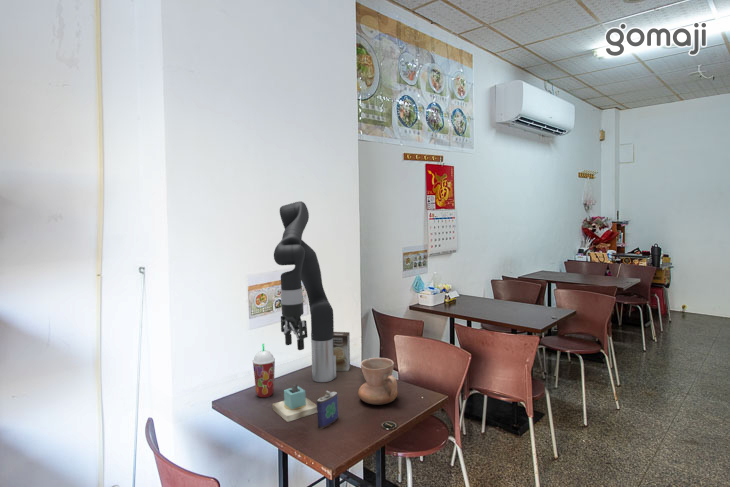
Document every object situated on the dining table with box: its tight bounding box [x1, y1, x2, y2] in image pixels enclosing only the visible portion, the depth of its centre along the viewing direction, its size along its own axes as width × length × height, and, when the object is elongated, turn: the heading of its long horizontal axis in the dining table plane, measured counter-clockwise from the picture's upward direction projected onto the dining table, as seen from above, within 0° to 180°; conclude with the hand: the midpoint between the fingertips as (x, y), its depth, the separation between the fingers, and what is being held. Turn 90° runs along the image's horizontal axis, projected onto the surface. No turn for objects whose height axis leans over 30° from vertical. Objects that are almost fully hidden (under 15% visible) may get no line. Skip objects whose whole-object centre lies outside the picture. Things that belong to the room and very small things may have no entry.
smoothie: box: [252, 343, 276, 398], centre depth 163 cm, size 8×8×20 cm
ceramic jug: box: [357, 357, 399, 406], centre depth 155 cm, size 18×14×14 cm
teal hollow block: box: [283, 385, 307, 409], centre depth 149 cm, size 6×6×5 cm
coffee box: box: [333, 331, 351, 372], centre depth 190 cm, size 9×6×16 cm
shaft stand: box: [272, 384, 317, 423], centre depth 149 cm, size 12×12×9 cm
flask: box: [316, 390, 339, 430], centre depth 140 cm, size 9×3×11 cm, turn 144°
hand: (294, 347), depth 149 cm, fingers open, 8 cm apart
